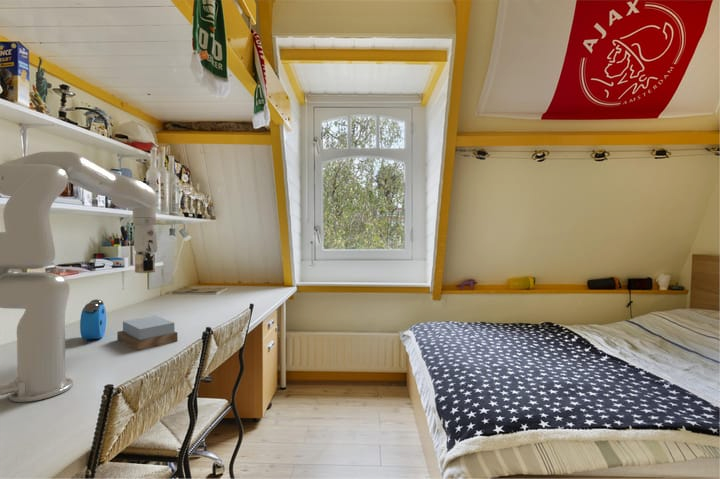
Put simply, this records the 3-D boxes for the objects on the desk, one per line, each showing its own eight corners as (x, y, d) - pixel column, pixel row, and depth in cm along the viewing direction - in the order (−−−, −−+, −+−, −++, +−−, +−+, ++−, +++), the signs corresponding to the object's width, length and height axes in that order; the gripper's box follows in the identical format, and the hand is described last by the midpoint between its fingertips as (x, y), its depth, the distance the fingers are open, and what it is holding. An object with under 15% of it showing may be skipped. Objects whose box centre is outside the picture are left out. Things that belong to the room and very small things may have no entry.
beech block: (140, 273, 133) (140, 254, 133) (135, 272, 136) (134, 254, 136) (154, 272, 137) (154, 254, 137) (149, 271, 140) (148, 253, 140)
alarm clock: (88, 335, 145) (88, 298, 144) (107, 333, 148) (106, 297, 147) (79, 344, 133) (79, 304, 133) (99, 342, 136) (99, 303, 135)
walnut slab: (137, 352, 127) (137, 341, 127) (117, 341, 138) (117, 331, 138) (177, 342, 138) (177, 332, 138) (155, 333, 149) (155, 324, 149)
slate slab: (139, 340, 128) (139, 329, 128) (122, 331, 139) (122, 321, 138) (174, 333, 137) (174, 322, 137) (156, 325, 148) (156, 315, 148)
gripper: (165, 222, 134) (165, 270, 135) (145, 222, 144) (145, 267, 145) (143, 222, 128) (144, 272, 129) (124, 222, 138) (125, 269, 139)
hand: (145, 269), depth 137 cm, fingers closed on beech block, 5 cm apart
